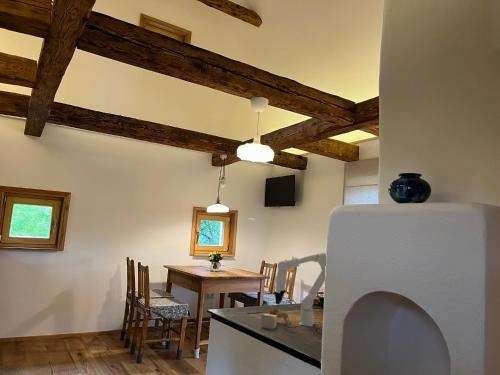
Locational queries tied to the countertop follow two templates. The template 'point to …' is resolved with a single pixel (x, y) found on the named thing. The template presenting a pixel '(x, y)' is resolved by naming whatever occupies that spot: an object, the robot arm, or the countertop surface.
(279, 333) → the countertop surface
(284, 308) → the countertop surface
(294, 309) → the countertop surface
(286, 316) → the lion figurine
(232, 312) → the countertop surface
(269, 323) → the book row
